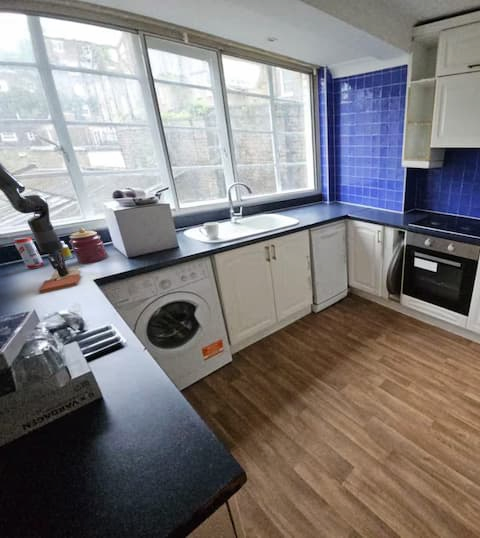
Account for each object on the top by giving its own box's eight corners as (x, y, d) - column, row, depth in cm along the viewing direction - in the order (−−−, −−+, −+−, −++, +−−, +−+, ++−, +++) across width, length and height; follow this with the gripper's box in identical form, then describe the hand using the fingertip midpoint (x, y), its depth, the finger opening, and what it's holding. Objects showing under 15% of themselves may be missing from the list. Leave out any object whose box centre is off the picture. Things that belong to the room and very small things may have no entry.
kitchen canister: (92, 264, 156) (78, 232, 149) (71, 263, 158) (57, 231, 151) (114, 255, 168) (102, 225, 161) (95, 254, 170) (82, 225, 163)
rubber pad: (40, 293, 126) (38, 290, 125) (46, 283, 135) (44, 280, 134) (76, 285, 132) (75, 282, 132) (80, 276, 141) (79, 273, 141)
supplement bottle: (74, 257, 167) (67, 241, 163) (62, 260, 163) (54, 244, 159) (70, 256, 169) (63, 240, 165) (58, 259, 165) (50, 242, 161)
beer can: (32, 269, 151) (16, 240, 145) (25, 268, 153) (9, 239, 147) (47, 265, 157) (33, 236, 150) (40, 264, 159) (25, 235, 152)
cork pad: (49, 284, 133) (43, 271, 131) (55, 276, 143) (48, 263, 140) (75, 279, 138) (69, 266, 136) (79, 271, 148) (73, 259, 145)
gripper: (40, 238, 138) (56, 270, 144) (32, 245, 127) (50, 280, 134) (61, 234, 142) (76, 267, 148) (55, 242, 131) (72, 276, 138)
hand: (64, 273), depth 141 cm, fingers open, 5 cm apart
